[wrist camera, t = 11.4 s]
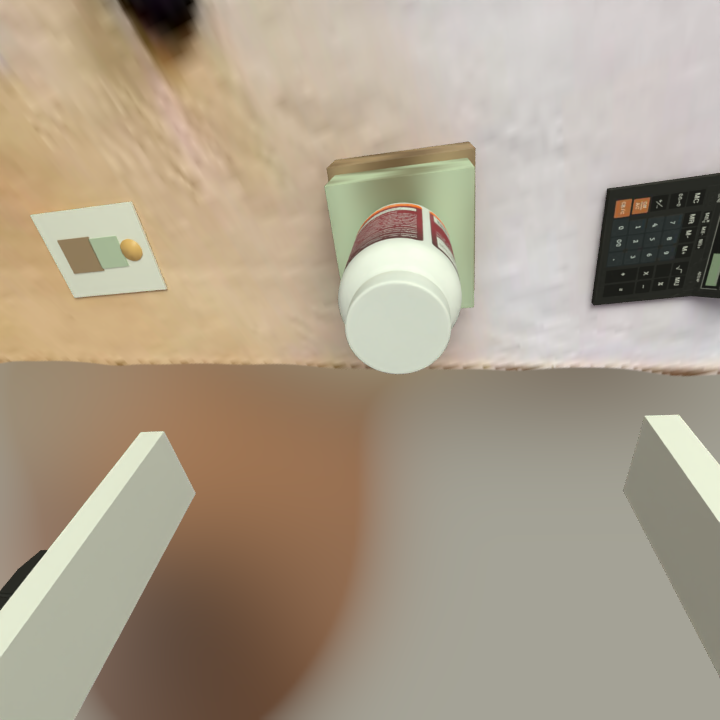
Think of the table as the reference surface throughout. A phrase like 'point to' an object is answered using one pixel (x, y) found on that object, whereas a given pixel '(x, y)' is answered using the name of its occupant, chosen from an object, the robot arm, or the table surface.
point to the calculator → (660, 241)
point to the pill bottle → (400, 290)
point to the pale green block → (408, 197)
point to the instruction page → (101, 249)
